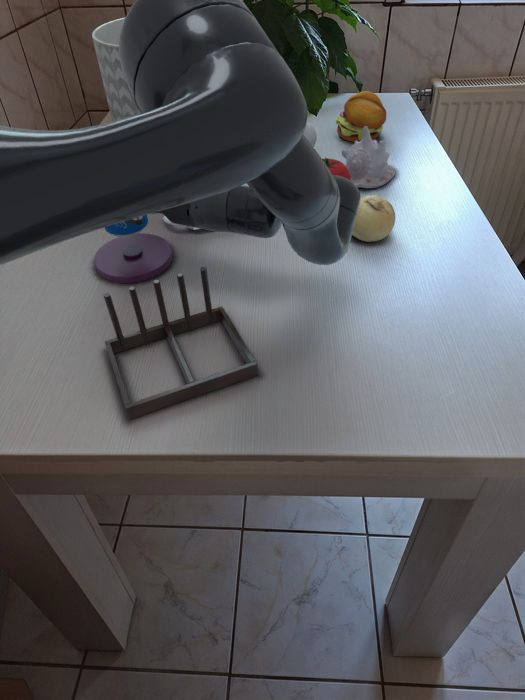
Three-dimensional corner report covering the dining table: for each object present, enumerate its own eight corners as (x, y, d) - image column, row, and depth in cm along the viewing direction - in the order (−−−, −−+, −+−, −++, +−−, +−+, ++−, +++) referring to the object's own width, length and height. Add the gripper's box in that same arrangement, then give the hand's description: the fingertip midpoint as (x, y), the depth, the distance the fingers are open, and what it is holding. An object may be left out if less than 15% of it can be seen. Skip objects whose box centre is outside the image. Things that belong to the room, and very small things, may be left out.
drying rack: (129, 419, 57) (109, 365, 50) (108, 351, 65) (89, 297, 58) (258, 375, 61) (255, 320, 54) (223, 316, 69) (217, 262, 62)
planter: (228, 190, 94) (217, 48, 78) (104, 184, 98) (67, 46, 81) (251, 137, 112) (246, 11, 95) (145, 133, 115) (121, 11, 98)
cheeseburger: (366, 122, 116) (377, 79, 107) (387, 150, 111) (401, 107, 102) (327, 128, 113) (335, 85, 105) (347, 157, 108) (358, 115, 100)
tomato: (324, 218, 86) (327, 174, 80) (290, 200, 91) (291, 157, 85) (359, 201, 90) (364, 158, 84) (325, 184, 95) (327, 143, 89)
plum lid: (104, 291, 74) (101, 282, 72) (90, 250, 81) (87, 241, 80) (181, 270, 77) (180, 260, 75) (161, 232, 85) (159, 223, 83)
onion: (334, 235, 82) (337, 195, 77) (363, 216, 86) (368, 178, 81) (373, 253, 78) (379, 213, 73) (402, 233, 82) (410, 194, 77)
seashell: (326, 177, 97) (329, 128, 90) (366, 158, 102) (372, 111, 96) (366, 195, 92) (373, 144, 85) (406, 174, 97) (415, 125, 90)
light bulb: (293, 164, 102) (294, 113, 94) (319, 170, 99) (322, 118, 92) (279, 176, 98) (279, 124, 91) (306, 182, 96) (308, 129, 89)
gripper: (227, 150, 68) (124, 136, 73) (175, 199, 58) (61, 179, 63) (231, 200, 73) (135, 184, 78) (184, 253, 64) (78, 231, 69)
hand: (102, 182), depth 71 cm, fingers closed on beverage can, 6 cm apart
